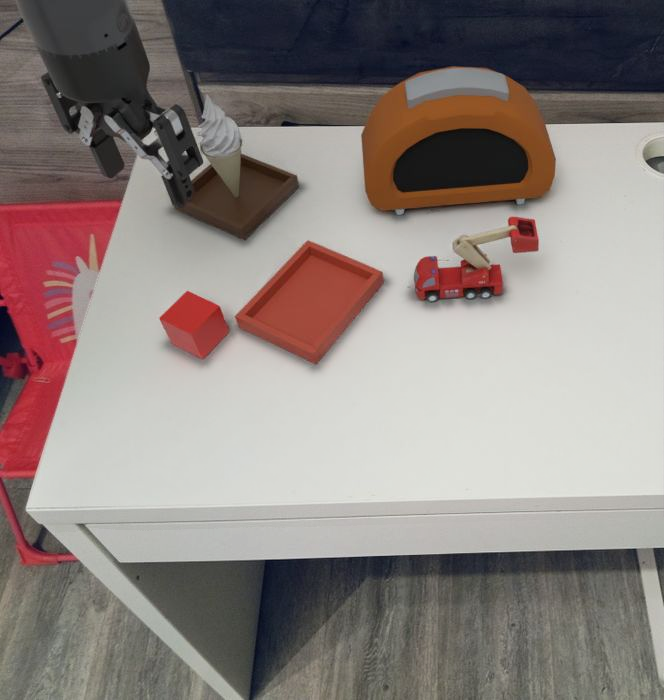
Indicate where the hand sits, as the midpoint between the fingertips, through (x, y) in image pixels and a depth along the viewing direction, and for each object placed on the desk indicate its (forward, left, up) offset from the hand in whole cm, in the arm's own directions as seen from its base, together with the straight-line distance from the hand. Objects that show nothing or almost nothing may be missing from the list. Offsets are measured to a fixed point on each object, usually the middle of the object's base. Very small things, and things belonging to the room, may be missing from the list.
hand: (149, 187), depth 72 cm
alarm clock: (+33, -15, -19) cm, 41 cm away
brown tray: (+17, +9, -19) cm, 27 cm away
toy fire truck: (+18, -25, -19) cm, 36 cm away
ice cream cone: (+17, +9, -19) cm, 27 cm away
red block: (-3, -2, -19) cm, 19 cm away
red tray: (+7, -10, -19) cm, 23 cm away
